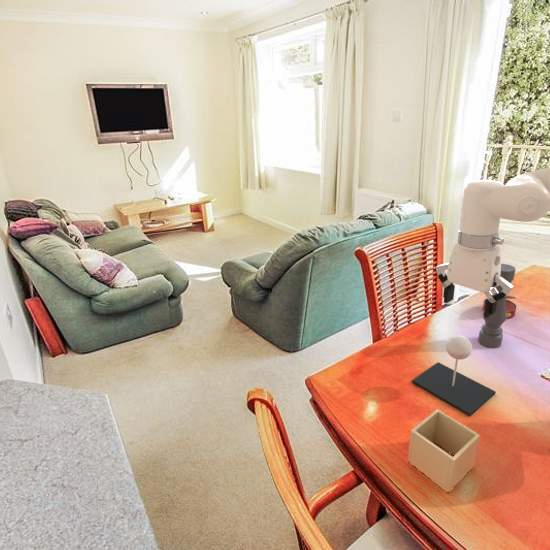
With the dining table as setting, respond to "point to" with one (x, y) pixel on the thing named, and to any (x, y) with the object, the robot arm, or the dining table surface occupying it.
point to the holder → (451, 439)
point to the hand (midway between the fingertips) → (467, 308)
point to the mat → (454, 388)
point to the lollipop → (458, 349)
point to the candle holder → (496, 315)
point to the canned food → (507, 307)
